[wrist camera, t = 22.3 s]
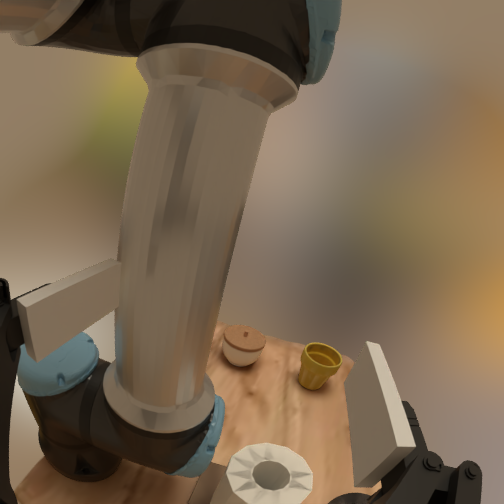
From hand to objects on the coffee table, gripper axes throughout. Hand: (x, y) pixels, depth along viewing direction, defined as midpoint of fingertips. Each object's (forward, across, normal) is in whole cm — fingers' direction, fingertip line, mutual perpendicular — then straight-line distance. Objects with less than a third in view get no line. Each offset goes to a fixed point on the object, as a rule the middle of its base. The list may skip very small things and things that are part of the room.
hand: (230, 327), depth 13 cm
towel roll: (+6, +8, -37) cm, 38 cm away
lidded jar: (+48, -2, -38) cm, 61 cm away
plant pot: (+47, +18, -38) cm, 63 cm away
